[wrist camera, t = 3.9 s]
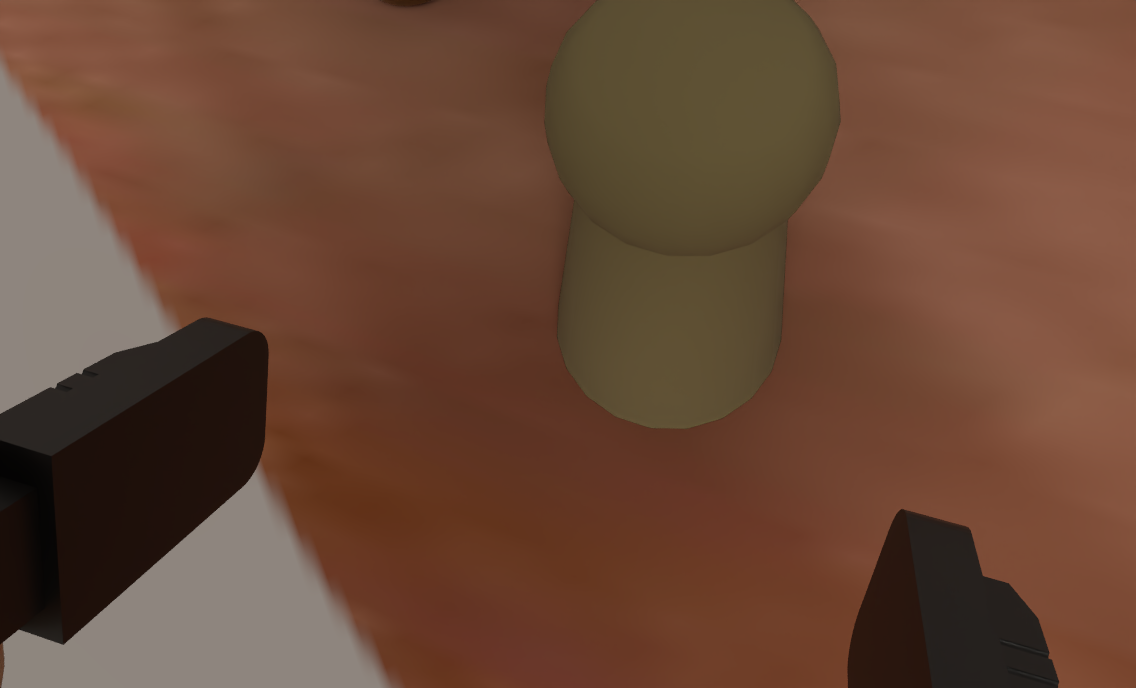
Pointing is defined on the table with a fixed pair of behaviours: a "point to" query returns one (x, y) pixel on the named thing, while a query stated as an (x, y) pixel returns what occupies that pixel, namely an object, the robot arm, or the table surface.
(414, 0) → the cup
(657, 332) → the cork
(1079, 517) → the table surface
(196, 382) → the robot arm
